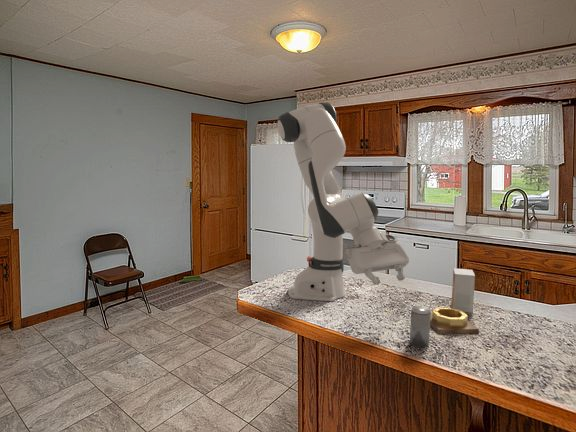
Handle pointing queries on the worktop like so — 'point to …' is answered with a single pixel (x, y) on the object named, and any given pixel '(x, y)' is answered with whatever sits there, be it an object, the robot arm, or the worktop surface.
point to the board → (445, 329)
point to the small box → (463, 290)
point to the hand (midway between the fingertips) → (389, 281)
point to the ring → (444, 316)
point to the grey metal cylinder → (420, 326)
